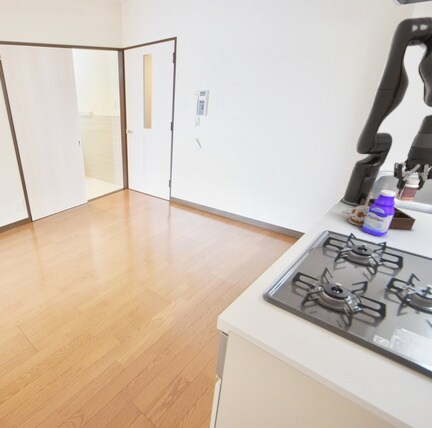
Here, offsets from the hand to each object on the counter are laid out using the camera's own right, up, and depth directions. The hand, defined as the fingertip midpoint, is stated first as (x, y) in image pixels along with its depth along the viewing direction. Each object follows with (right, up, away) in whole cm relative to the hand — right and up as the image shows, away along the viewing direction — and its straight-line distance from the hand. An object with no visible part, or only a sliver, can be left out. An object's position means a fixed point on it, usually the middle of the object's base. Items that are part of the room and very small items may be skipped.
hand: (408, 189), depth 108 cm
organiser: (+2, -11, +13) cm, 17 cm away
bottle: (-12, -17, +2) cm, 21 cm away
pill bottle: (0, -4, +2) cm, 5 cm away
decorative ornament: (-10, -14, +10) cm, 20 cm away
